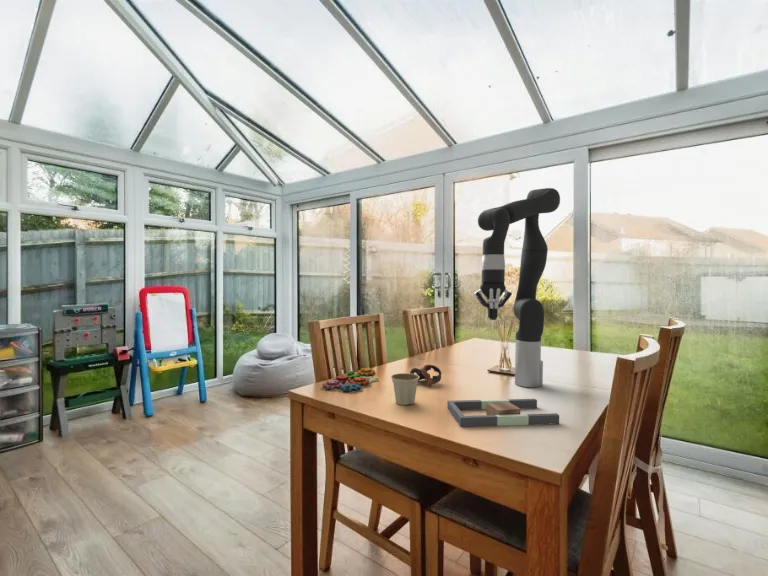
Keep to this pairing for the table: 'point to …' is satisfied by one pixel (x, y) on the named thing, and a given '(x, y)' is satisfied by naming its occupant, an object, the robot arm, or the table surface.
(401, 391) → the flower pot
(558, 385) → the table surface
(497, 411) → the walnut block
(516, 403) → the box
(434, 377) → the brown ring toy
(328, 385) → the gear puzzle
